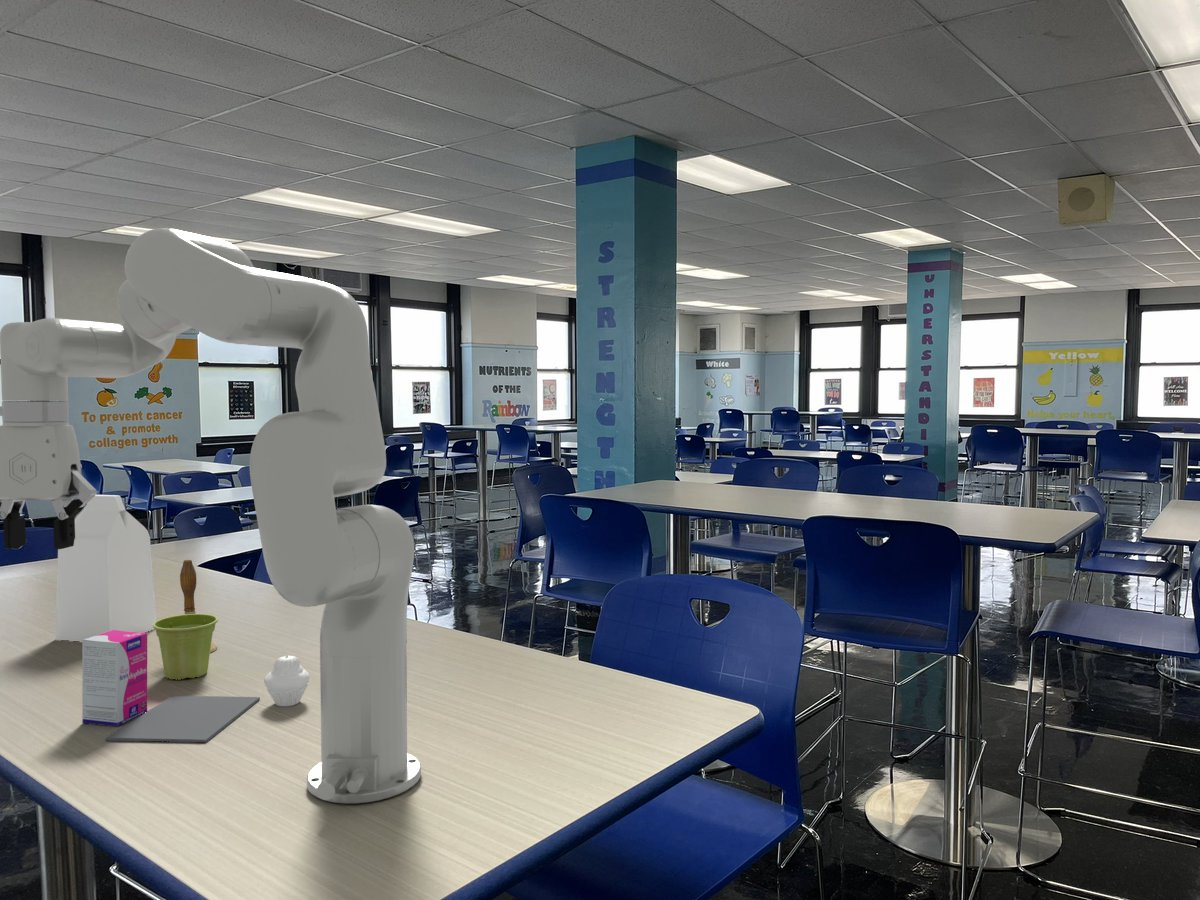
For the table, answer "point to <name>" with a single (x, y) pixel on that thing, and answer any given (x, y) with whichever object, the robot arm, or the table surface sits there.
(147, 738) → the mat
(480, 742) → the table surface
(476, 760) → the table surface
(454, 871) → the table surface
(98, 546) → the milk
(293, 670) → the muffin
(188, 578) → the hand bell
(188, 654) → the plant pot
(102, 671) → the supplement box
